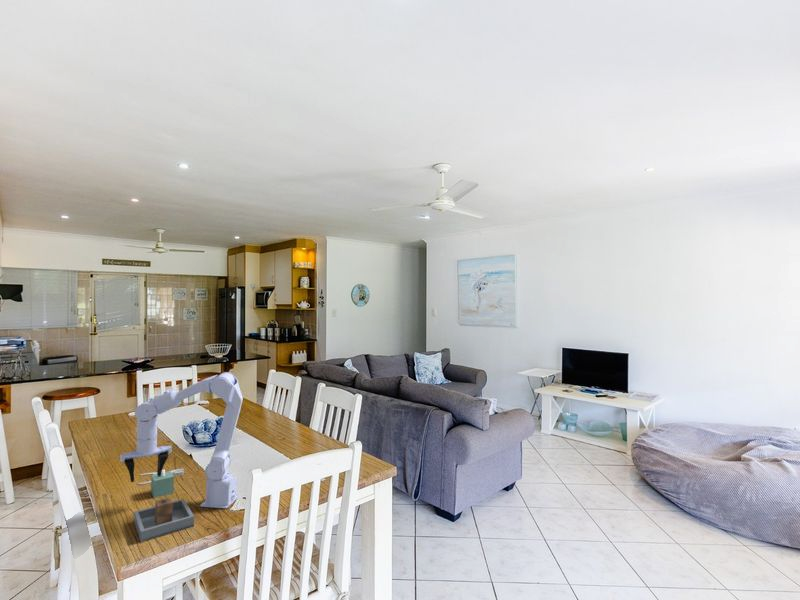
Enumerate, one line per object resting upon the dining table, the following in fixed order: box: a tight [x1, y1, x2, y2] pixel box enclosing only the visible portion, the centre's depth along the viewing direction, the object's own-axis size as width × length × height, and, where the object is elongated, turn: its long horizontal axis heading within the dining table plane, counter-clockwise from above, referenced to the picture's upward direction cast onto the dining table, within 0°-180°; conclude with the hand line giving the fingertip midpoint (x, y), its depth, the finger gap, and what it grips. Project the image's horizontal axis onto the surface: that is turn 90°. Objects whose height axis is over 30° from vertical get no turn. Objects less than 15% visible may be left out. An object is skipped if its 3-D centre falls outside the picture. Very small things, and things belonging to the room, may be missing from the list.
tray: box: [133, 498, 195, 543], centre depth 126 cm, size 14×14×3 cm
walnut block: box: [155, 497, 173, 525], centre depth 126 cm, size 4×4×6 cm
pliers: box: [138, 468, 185, 486], centre depth 159 cm, size 10×2×15 cm
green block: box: [150, 469, 175, 499], centre depth 146 cm, size 6×6×8 cm
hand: (145, 478), depth 136 cm, fingers open, 7 cm apart
